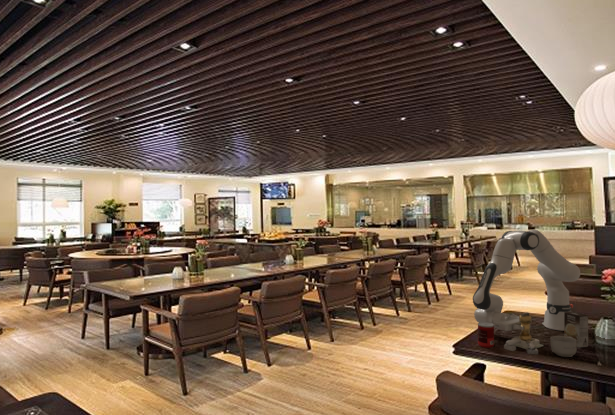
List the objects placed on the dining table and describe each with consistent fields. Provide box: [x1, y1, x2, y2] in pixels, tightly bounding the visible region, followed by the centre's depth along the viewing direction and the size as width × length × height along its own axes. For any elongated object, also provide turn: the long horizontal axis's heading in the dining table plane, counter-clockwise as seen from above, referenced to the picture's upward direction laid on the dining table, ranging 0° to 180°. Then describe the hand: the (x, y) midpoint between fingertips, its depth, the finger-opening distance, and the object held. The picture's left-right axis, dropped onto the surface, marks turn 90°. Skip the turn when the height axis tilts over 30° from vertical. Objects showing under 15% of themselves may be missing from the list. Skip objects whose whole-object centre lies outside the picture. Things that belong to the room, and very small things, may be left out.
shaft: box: [525, 340, 539, 356], centre depth 209 cm, size 9×4×4 cm, turn 166°
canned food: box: [477, 322, 495, 349], centre depth 218 cm, size 8×8×11 cm
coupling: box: [518, 312, 533, 341], centre depth 218 cm, size 6×6×14 cm
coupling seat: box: [503, 336, 545, 352], centre depth 216 cm, size 20×12×4 cm, turn 121°
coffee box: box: [563, 310, 589, 348], centre depth 219 cm, size 9×6×16 cm
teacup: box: [549, 335, 578, 358], centre depth 204 cm, size 14×11×8 cm
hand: (526, 327), depth 218 cm, fingers closed on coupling, 4 cm apart
